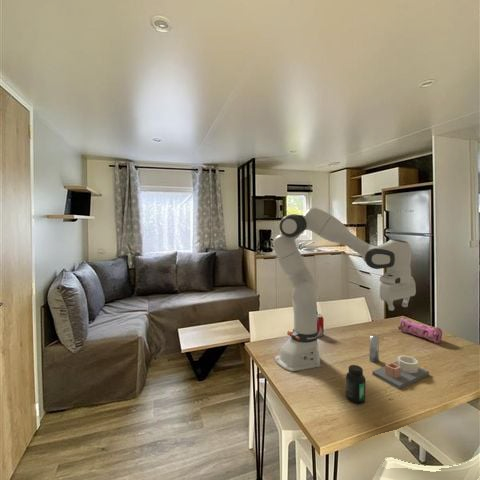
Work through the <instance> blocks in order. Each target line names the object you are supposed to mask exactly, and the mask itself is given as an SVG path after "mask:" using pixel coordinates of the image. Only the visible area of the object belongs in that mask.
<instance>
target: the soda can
mask: <svg viewBox="0 0 480 480" xmlns="http://www.w3.org/2000/svg"><path fill="white" fill-rule="evenodd" d="M324 321H325V319H324V317H323V315H322V314H321V313H317V331H318V338H319V337H323V336H324V332H325V330H324V327H325V325H324V323H325V322H324Z"/></svg>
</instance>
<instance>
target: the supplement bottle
mask: <svg viewBox="0 0 480 480" xmlns="http://www.w3.org/2000/svg"><path fill="white" fill-rule="evenodd" d="M363 371H364V370H363V368H362V367H361V366H359V365H357V364H350V365H349V366H348V372H347V373H346V375H345V398H346V399H347V401H348V402H350V403H352V404H354V405H362V404H364V403H365V402H366V393H367V392H366V389H367V388H366V386H367V385H366V384H367V383H366V382H367V381H366V380H367V379H366V377H365V375H364V373H363Z"/></svg>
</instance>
